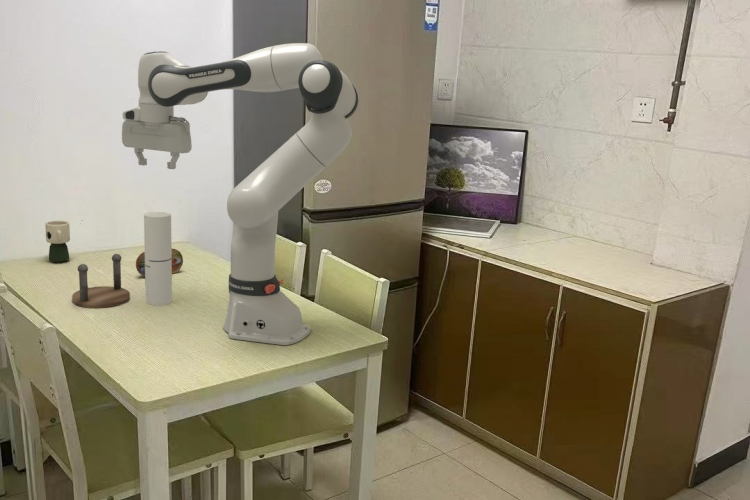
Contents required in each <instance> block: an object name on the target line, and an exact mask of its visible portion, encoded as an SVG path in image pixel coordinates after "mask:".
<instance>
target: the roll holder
mask: <svg viewBox="0 0 750 500" xmlns="http://www.w3.org/2000/svg"><path fill="white" fill-rule="evenodd" d="M111 261H112V273H113V274H112V276H113V277H112V278H113V286H110V285H109V286H93V287H92V286H91V287H88V286H89V285H88V270H89V267H88V265H87V264H84V263H81V264H79V265H78V266H77V271H78V280H79V283H78V285H79V290H77V291H75V292H74V293H72V294H71V295H72V296H71V299H72V301H71V302H72V303H73V304H74V305H75V306H76V307H80V308H85V309H106V308H113V307H119V306H121V305H124V304H126V303H128V302H129V301H130V300H131V295H130V294H131V293H130V291H129V289H125V288H123V287H122V273H121V271H122V269H121V268H122V267H121V265H122V263H121V261H122V255H121V254H119V253H114V254H113V255H112V256H111Z"/></svg>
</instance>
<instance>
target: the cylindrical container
mask: <svg viewBox="0 0 750 500" xmlns="http://www.w3.org/2000/svg"><path fill="white" fill-rule="evenodd" d="M143 232H144V233H143V234H144V237H143V238H144V252H145V277H144V279H145V280H144V284H145V290H144V292H145V303H146V304H147V305H152V306H164V305H169V304H170V303H172V302H173V280H172V278H173V277H172V276H173V274H172V249H173V248H172V247H173V246H172V213H170V212H165V211H149V212H145V213H144V214H143Z"/></svg>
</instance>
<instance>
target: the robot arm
mask: <svg viewBox="0 0 750 500" xmlns="http://www.w3.org/2000/svg"><path fill="white" fill-rule="evenodd" d="M137 71H138V72H137V84H138V85H137V86H138V90H139V98H138V107H137V106H136V107H134V108H132V109H128V110H125V111H122V119H123V120H124V121H123V122H122V125H121V143H122V145H123V146H124V147H125V148H133V149H134V150H133V151H134V154H135V156H136V158H137V161H138V162H137V163H138V165H139V166H142V167H143V166H147V164H148V159H147V158H145V156H144V154H143V152H144V150H151V151H159V152H165V153H166V152H167V153H170V157H171V158H170V160H169V161H167V162H166V163H167V170H168V169H169V170H176V168H177V162H178V159H179V158H180V155H181V154H187V153H190V152H191V151H192V149H193V147H192V135H191V124H190V122H189V121H188V120H187V119H186V118H185V117H182V116H181V117H178V116H175V115H174V113H175V112H174V110H175V109H174V108H175V107H174V106H186V105H188V106H189V105H195V104H198V103H201V102H202V101H204V100H205V99H206V97H207V96H208V94H209V92H215V91H220V90H237V91H238V90H239V91H246V92H255V93H256V92H257V93H277V92H282V91H289V90H294V89H299V91H300V94H301V96H302V99H303V102H304V105H305V107H306V109H307V111H308V112H310V113H311V116H310V119H309V120H308V121H307V122H306V123H305V124H304V125H303V126H302V127H300V129H299V130H298V131H297V132H295V133H294V134H293V135H292V136H291V137H290V138H289V139H288V140H286V141H285V142H284V143H283V144H282V145H281V146H280V147H278V149H277V150H276V151H274V152H273V153H272V154H271V155H270V156H268V157H267V158H266V159H265V160H264V161H263V162H262V163H261V164H259V165H258V166H257V167H256V168H255V169H254V170H253V171H252V172H250V174H249V175H247V176H246V177H245V178H244V179H243V180H242V181H241V182H239V183H238V184H237V185H236V186H235V187H234V188H233V189H232V190H231V191H230V193H229V195H228V197H227V202H226V210H227V215H228V217H229V219H230V220H231V221H232V223H233V231H232V236H231V237H232V238H231V243H230V273H229V275H228V293H229V297H228V306H227V307H228V308H227V313H226V316H225V320H224V323H223V330H224V331H225V332H227V334H228V338H230V339H232V340H240V341H249V342H253V343H254V342H255V343H261V344H262V343H263V344H270V345H271V344H272V345H280V346H289V345H292V344H296V343H299V342H300V341H302V340H304V339H305V338H306V337H308V336H309V334H311V326H310V325H309V324H306V323H303V317H302V311H301V309H300V307H299V305H297V304H296V303H294V302H293V301H292V300H291V299H290V298H289V297H288V296H287V295H286V294H285V293H284V292H283V291H281V288H280V287H281V285H283V284H284V282H283V281H284V278H283V279H281V280H278V277H277V275H276V274H275V268H276V267H275V263H276V262H275V261H276V242H277V241H276V240H277V233H278V232H277V230H278V221H279V211H280V210H281V209H282V208H283V207H284V206H285V205H286V204H287V203H288V202H289V201H291V200H292V198H294V196H296V195H297V194H298V193H299V192H300V191H301V190H302V189H303V188H305V187H306V186H307V185H308V184H309V183H310V182H311V181H312V180H313V179H315V178H316V177H317V176H318V175H319V174H320V173H322V171H323V170H325V169H326V168H327V167H329V165H330V164H332V163H333V162H334V160H336V159H337V158H338V157H339V155H340V154H342V152H343V151H344V150H345V149H346V147H347V146H348V145H349V143H350V142H351V140H352V137H353V130H352V127H351V125H350V123H349V121H348V120H347V119H349V118H350V117H353V115H354V113H355V112H356V111H357V109H358V107H359V106H358V105H359V95H358V92H357V89H356V88H355V86H354V84H353V83H352V82H351V81H350V79H349V77H348V75H346V74H345V72H343V71H342V70H341V69H339V67H338V66H336V64H334V63H332V62H330V61H327V60H323V56H322V53H321V52H320V50H319V49H318V48H317V47H316V46H315V45H314V44H312V43H309V42H306V43H303V42H293V43H283V44H277V45H272V46H267V47H265V48H260V49H257V50H255V51H251V52H249V53H246V54H243V55H240V56H236V57H235V58H232V59H229V60H226V61H222V62H217V63H211V64H205V65H200V66H194V67H193V66H191V65H188V64H186V63H183V62H182V61H180V60H178V59H177V58H175V57H174V56H173V55H172V54H171V53H170V52H169V51H150V52H146V53H144V54H142V55H141V56H140V59H139V61H138V69H137Z"/></svg>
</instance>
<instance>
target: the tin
mask: <svg viewBox="0 0 750 500" xmlns="http://www.w3.org/2000/svg"><path fill="white" fill-rule="evenodd" d="M183 263H184V258H183V254H182V252H181V251H180V250H178V249H176V248H172V275H174V274H176V273H178V272H179V271H180V270H181V269H182V266H183ZM135 268H136V270H137V272H138V273H139V274H140V275H141V276H143V277H144V278H145V251H143V252H141V253H140V254H139V255H138V256H137V258H136V260H135Z"/></svg>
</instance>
